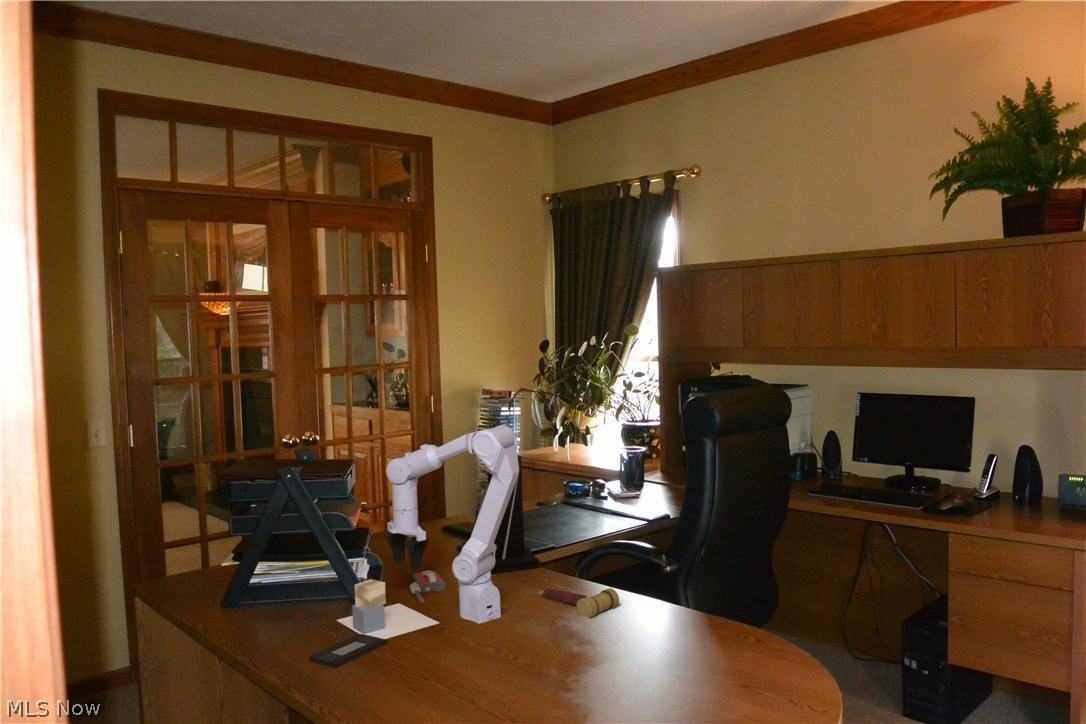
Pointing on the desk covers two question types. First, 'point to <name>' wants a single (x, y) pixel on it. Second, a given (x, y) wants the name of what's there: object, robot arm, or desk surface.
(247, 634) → the desk surface
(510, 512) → the award
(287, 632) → the desk surface
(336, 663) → the vhs tape
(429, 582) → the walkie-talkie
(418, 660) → the desk surface
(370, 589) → the maple cube
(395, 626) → the blank cream board
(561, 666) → the desk surface
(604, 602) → the gavel
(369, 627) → the slate block
